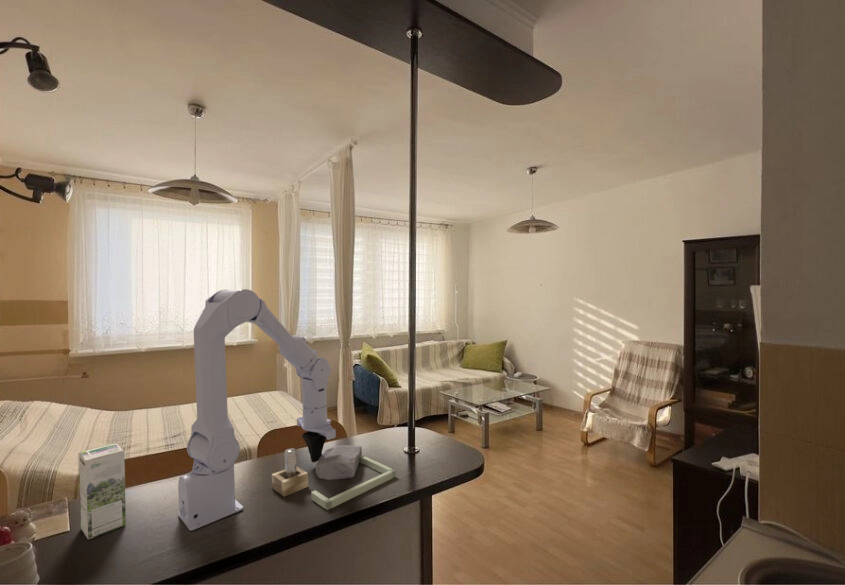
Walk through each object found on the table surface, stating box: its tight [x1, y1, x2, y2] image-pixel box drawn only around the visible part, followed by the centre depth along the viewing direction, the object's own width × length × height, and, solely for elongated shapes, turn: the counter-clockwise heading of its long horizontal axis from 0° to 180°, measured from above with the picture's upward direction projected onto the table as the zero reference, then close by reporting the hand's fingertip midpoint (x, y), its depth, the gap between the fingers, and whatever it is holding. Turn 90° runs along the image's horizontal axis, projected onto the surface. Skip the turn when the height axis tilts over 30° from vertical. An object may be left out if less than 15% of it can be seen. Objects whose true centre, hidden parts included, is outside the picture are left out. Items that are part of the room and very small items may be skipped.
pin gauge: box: [284, 447, 298, 479], centre depth 87 cm, size 2×2×8 cm
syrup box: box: [77, 443, 127, 541], centre depth 73 cm, size 6×6×14 cm
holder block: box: [271, 466, 309, 498], centre depth 86 cm, size 6×6×3 cm
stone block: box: [315, 444, 363, 481], centre depth 95 cm, size 12×5×10 cm
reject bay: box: [310, 455, 397, 511], centre depth 88 cm, size 18×12×2 cm, turn 136°
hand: (316, 460), depth 97 cm, fingers closed, pressing on stone block
